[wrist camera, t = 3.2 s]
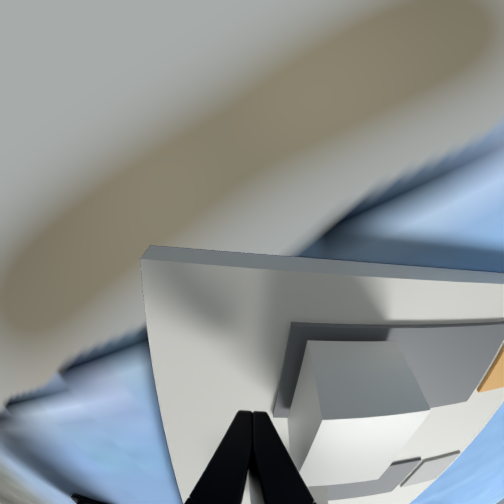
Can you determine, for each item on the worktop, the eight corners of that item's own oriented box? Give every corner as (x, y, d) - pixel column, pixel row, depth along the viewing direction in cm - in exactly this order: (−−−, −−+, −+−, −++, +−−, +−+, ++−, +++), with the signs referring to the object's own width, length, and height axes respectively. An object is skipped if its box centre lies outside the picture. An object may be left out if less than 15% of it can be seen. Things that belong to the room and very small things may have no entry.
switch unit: (193, 525, 21) (192, 535, 20) (150, 245, 10) (137, 261, 9) (377, 519, 21) (379, 528, 20) (554, 276, 10) (568, 288, 9)
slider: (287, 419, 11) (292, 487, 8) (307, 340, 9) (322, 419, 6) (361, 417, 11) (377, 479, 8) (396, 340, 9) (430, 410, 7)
